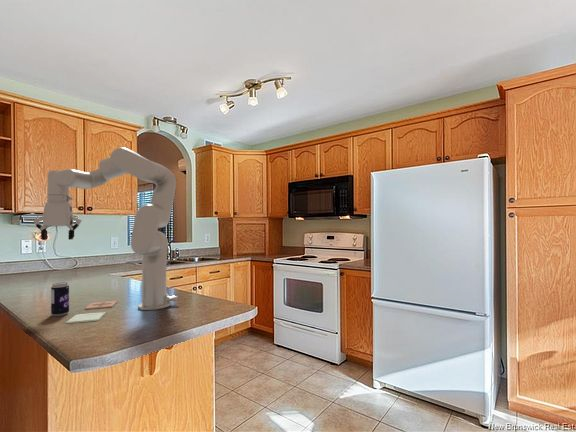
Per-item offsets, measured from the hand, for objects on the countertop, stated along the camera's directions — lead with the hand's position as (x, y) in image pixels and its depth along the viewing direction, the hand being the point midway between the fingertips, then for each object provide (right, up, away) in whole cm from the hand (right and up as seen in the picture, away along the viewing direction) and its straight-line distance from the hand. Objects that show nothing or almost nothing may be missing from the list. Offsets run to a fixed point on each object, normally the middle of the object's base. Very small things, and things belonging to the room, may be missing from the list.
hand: (57, 239), depth 138 cm
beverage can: (+10, -28, -13) cm, 33 cm away
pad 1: (+24, -28, -19) cm, 41 cm away
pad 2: (+19, -28, 0) cm, 34 cm away
